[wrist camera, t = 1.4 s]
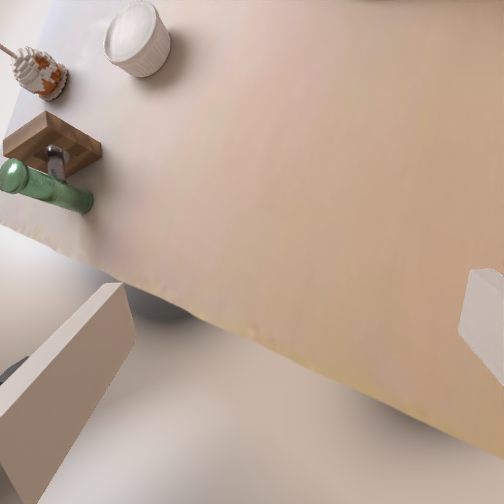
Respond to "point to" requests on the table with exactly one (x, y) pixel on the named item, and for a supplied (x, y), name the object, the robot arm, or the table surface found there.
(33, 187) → the green tall capped cylinder
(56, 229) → the table surface
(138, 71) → the ramekin
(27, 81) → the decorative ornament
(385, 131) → the table surface
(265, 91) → the table surface
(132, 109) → the table surface
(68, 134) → the brown striped block
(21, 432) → the robot arm
